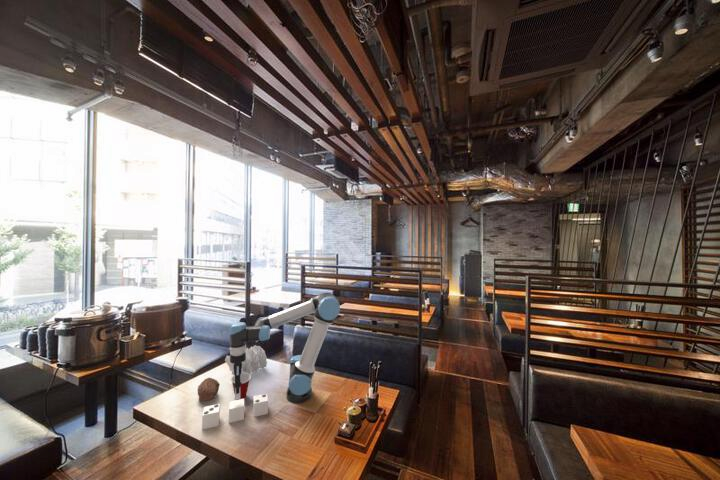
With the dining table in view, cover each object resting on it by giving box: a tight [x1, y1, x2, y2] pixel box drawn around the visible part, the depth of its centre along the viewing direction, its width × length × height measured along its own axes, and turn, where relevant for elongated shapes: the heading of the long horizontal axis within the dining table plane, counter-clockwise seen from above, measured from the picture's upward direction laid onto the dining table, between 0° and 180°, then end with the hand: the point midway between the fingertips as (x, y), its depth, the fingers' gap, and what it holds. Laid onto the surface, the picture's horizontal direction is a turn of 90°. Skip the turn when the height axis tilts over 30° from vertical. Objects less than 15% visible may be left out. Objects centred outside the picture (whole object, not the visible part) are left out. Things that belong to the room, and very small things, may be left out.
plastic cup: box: [230, 373, 252, 400], centre depth 154 cm, size 11×11×12 cm
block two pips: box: [252, 393, 269, 418], centre depth 142 cm, size 7×7×7 cm
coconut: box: [197, 377, 220, 402], centre depth 154 cm, size 13×11×10 cm
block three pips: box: [201, 403, 221, 430], centre depth 132 cm, size 7×7×7 cm
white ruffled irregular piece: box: [224, 344, 268, 377], centre depth 181 cm, size 18×18×25 cm
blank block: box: [228, 398, 245, 424], centre depth 137 cm, size 7×7×7 cm
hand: (237, 398), depth 137 cm, fingers closed
